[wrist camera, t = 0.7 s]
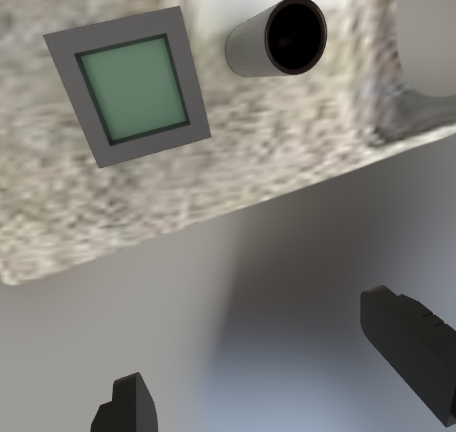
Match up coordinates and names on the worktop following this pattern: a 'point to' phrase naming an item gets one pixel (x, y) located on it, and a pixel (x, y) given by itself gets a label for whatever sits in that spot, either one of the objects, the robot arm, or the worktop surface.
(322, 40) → the dark grey cylinder
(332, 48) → the worktop surface
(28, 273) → the worktop surface
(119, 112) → the socket board
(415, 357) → the robot arm
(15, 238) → the worktop surface
